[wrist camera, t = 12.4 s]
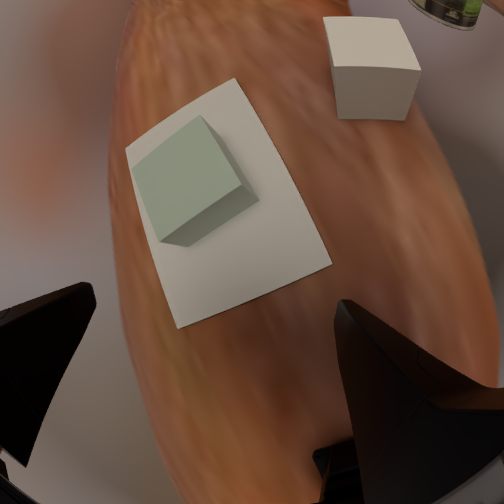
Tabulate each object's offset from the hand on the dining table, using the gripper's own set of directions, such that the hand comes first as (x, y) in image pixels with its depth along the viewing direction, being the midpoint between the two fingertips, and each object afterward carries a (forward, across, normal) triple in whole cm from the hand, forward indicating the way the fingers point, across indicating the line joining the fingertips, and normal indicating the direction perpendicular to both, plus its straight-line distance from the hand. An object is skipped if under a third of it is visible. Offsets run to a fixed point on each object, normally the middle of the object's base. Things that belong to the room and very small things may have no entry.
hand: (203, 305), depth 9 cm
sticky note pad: (+16, +4, -1) cm, 16 cm away
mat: (+16, +3, -1) cm, 16 cm away
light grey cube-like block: (+17, -11, -11) cm, 23 cm away
